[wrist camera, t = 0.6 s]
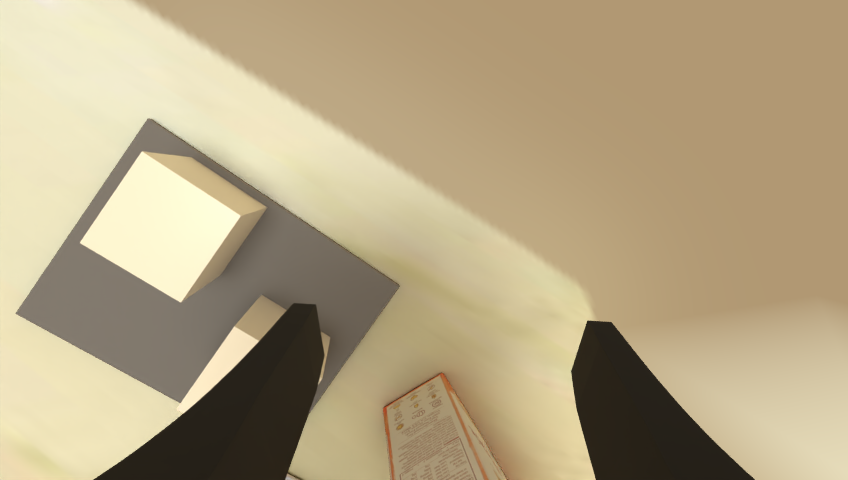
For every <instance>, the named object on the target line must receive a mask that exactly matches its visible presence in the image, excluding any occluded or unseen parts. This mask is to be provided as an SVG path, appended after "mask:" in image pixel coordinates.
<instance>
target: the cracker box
mask: <svg viewBox="0 0 848 480" xmlns="http://www.w3.org/2000/svg"><path fill="white" fill-rule="evenodd" d="M383 413H384V422H385V430H386V441H387V450H388V459H389V468H390V478H391V480H507V478H506V477H505V475H504V473H503V472H502V470H501V468H500V467H499V465H498V463H497V461H496V460H495V458H494V456H493V455H492V453H491V451H490V450H489V448H488V446H487V444H486V443H485V441H484V439H483V438H482V436H481V434H480V433H479V431H478V429H477V428H476V426H475V424H474V423H473V421H472V419H471V418H470V416H469V414H468V413H467V411H466V409H465V408H464V406H463V405H462V403H461V401H460V400H459V398H458V396H457V395H456V393H455V391H454V390H453V388H452V387H451V385H450V384H449V382H448V380H447V379H446V377H445V375H444V374H443V373H441V374H439V375H438V376H436V377H434V378H433V379H431V380H429V381H427V382H426V383H424V384H422V385H421V386H419V387H417V388H416V389H414V390H412V391H411V392H409V393H408V394H406V395H404V396H403V397H401V398H399V399H398V400H396V401H394V402H393V403H391V404H389V405H388V406H386V407H384V408H383Z"/></svg>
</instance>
